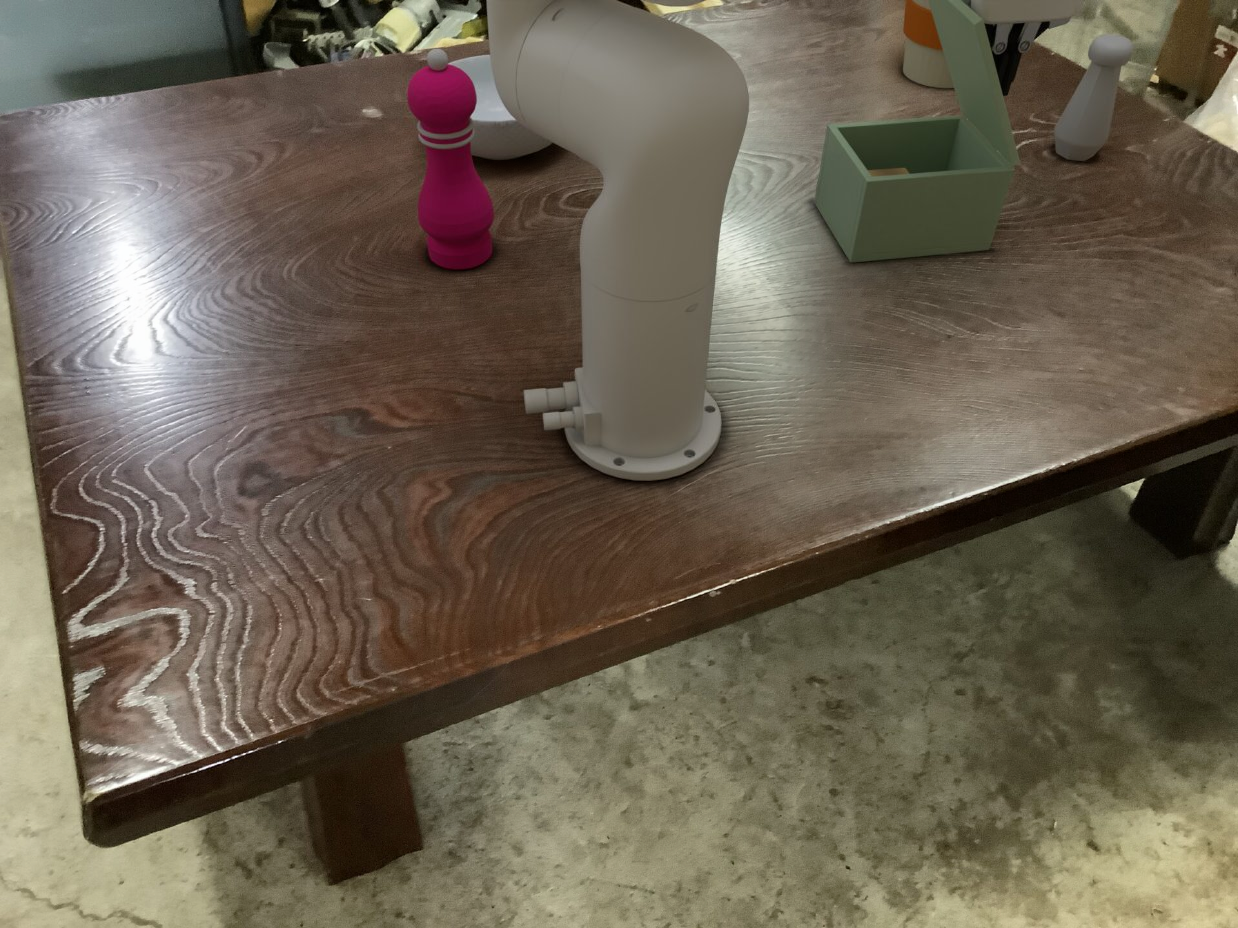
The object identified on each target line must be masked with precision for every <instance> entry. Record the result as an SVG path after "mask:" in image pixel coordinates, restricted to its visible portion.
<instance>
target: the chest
mask: <svg viewBox="0 0 1238 928" xmlns="http://www.w3.org/2000/svg"><path fill="white" fill-rule="evenodd" d="M823 142H824V143H823V148H822V154H821V160H820V165H819V171H818V176H817V177H818V178H817V183H816V189H815V194H814V195H815V196H814V202H813V203H814V205H815V206H816V208H817V210H818V211H819V213H820V215H821V217H822V218H823V219H824V221H825V223H826V225H827V226H828V228H829V229H830V231H831V233H832V235H833V236H834V238H835V239H836V241H837V243H838V245H839V246H840V248H841V249H842V251H843V252H844V254H845V256H846V257H847V259H848V261H849V262H850V263H860V262H861V263H862V262H872V261H883V260H893V259H894V260H895V259H905V258H916V257H927V256H928V257H929V256H937V255H950V254H961V253H971V252H972V253H973V252H982V251H989V250H990V248H991V244H992V242H993V239H994V236H995V233H996V230H997V226H998V224H999V220H1000V217H1001V215H1002V211H1003V208H1004V204H1005V202H1006V198H1007V195H1008V192H1009V189H1010V186H1011V183H1012V181H1013V176H1014V173H1015V171H1016V169H1015V168H1014V166H1013V167H1012V166H1011V165H1010V164H1009V163H1008V162H1007V160H1006V159H1005V158H1004V157H1003V156H1002V155H1001V154H1000V153H999V152H998V151H997V150H996V149H995V148H994V147H993V145H992V144H991V143H990V142H989V141H988V140H987V139H986V138H985V137H984V136H983V135H982V134H981V133H980V132H979V130H978V129H977V128H976V127H975V126H974V125H973V124H972V123H971V122H970V121H969V120H968V119H967V118H966V117H965V115H964V114H957V115H942V116H927V117H916V118H915V117H913V118H899V119H886V120H885V119H884V120H873V121H857V122H845V123H844V122H843V123H833V124H831V123H830V124H827V125H826V130H825V136H824V141H823ZM893 168H906V169H907V171H908V172H909V173H910V174H902V175H889V176H877V177H872V176H871V174H870V173H869V172H868V170H879V169H893Z"/></svg>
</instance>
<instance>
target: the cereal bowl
mask: <svg viewBox="0 0 1238 928" xmlns="http://www.w3.org/2000/svg"><path fill="white" fill-rule="evenodd" d="M448 64H450V65H453V66H456V67H458V68H460V69H461V70H463V71H464V72H465V73H466V74H467V75H468V76H469V77H470V79H471V80H472V82H473V84H474V87H475V91H476V95H477V103H476V108H475V110H474V112H473V114H472V115H471V116H470V117H471V118H472V120H473V122H474V126H473V130H474V132H475V135H474V138H473V139H472V140H471V155H472V157H473V156H474V157H479V158H482V159H483V158H484V159H486V160H494V161H507V160H515V159H517V158H520V157H524V156H527V155H531V154H533V153H537V152H539V151H541V150H543V149H545V148H547V147H548V146H551V145H552V144H554V143H553V142H551V141H549V140H547V139H545V138H543V137H541V136H540V135H538V134H536V133H534V132H532V131H531V130H529V129H528V128H526V127H525V126H523V125H522V124H520V123H519V122H518V121H517V120H516V119H515V118H514V117H512V116H511V114H510V113H509V112H508V111H507V109H506V108H505V106H504V104H503V103H502V101H501V99H500V96H499V94H498V91H497V88H496V85H495V81H494V77H493V72H492V66H491V59H490V54H482V55H474V56H469V57H464V58H460V59H457V60H454V61H451V62H448Z"/></svg>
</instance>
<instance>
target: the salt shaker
mask: <svg viewBox="0 0 1238 928" xmlns="http://www.w3.org/2000/svg"><path fill="white" fill-rule="evenodd" d="M1134 49H1135V48H1134V44H1133V42H1132V41H1131V39H1129V38H1127V37H1126V36H1123V35H1120V34H1115V33H1104V34H1100V35H1098V36H1096V37H1095V38H1094V39H1093V40H1092V41H1091V42H1090V45H1089V48H1088V51H1087V56H1088V57H1087V58H1088V60H1089V61H1090V63H1089V65H1088V67H1087V69H1086V71H1085V73H1084V74H1083V76H1082V78H1081V80H1080V81H1079V84H1077V87H1076V89H1075V91H1074V93H1073V94H1072V96H1071V98H1070V100H1069V101H1068V103H1067V105H1066V106H1065V108H1064V110H1063V112H1062V114H1061V115H1060V116H1059V119H1058V121H1057V122H1056V124H1055V126H1054V128H1053V136H1054V145H1055V146H1054V147H1055V153H1056V154H1057V155H1059V156H1061V157H1062V158H1064V159H1066V160H1068V161H1078V162H1079V161H1080V162H1085V161H1087V160H1089V159H1091V158H1093V157H1094V156H1095V155H1096V154H1097V153H1098V152H1099V151H1100V150H1101V148H1102V147H1103V146H1105V144H1106V143H1107V141H1108V139H1109V137H1110V132H1111V125H1112V122H1113V115H1114V108H1115V104H1116V99H1117V95H1118V94H1117V93H1118V87H1119V82H1120V78H1121V71H1122V67H1123V66H1126V65H1127V64H1128V63H1129V61H1130V60H1131V58H1132V56H1133V53H1134Z"/></svg>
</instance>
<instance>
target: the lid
mask: <svg viewBox="0 0 1238 928" xmlns="http://www.w3.org/2000/svg"><path fill="white" fill-rule="evenodd" d="M928 2H929V5H930V8H931V12H932V15H933V18H934V22H935V25H936V29H937V32H938V35H939V39H940V42H941V45H942V49H943V52H944V55H945V59H946V62H947V65H948V69H949V72H950V76H951V79H952V82H953V86H954V88H953V89H954V92H955V95H956V98H957V102H958V105H959V110H960V112H961V114H962V115H964V116H965V117H966V118H967V119H968V120H969V121H970V122H971V123H972V124H973V126H974V127H975V128H976V129H977V130H978V131H979V132H980V133H981V134H982V135H983V136H984V137H985V138H986V140H987V141H988V142H989V143H990V144H991V145H992V146H993V147H994V148H995V149H996V150H997V151H998V152H999V153H1000V155H1001V156H1002V157H1003V158H1004V159H1005V160H1006V161H1007V162H1008V163H1009V164H1010V165H1011V166H1012V167H1013V168H1014V167H1015V166H1018V165H1019V164H1021V160H1020V157H1019V153H1018V149H1017V145H1016V141H1015V137H1014V133H1013V128H1012V125H1011V121H1010V118H1009V117H1010V116H1009V114H1008V110H1007V106H1006V103H1005V99H1004V96H1003V94H1002V90H1001V86H1000V82H999V79H998V75H997V71H996V67H995V63H994V59H993V55H992V51H991V48H990V44H989V40H988V36H987V32H986V28H985V24H984V20H983V19H982V18H981V17H980V16H979V15H978V14H976V13H975V12H974V11H973V10H972V9H971V8H970V7H968V6H967V5H966V4H965V3H964V2H963V1H962V0H928Z"/></svg>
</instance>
